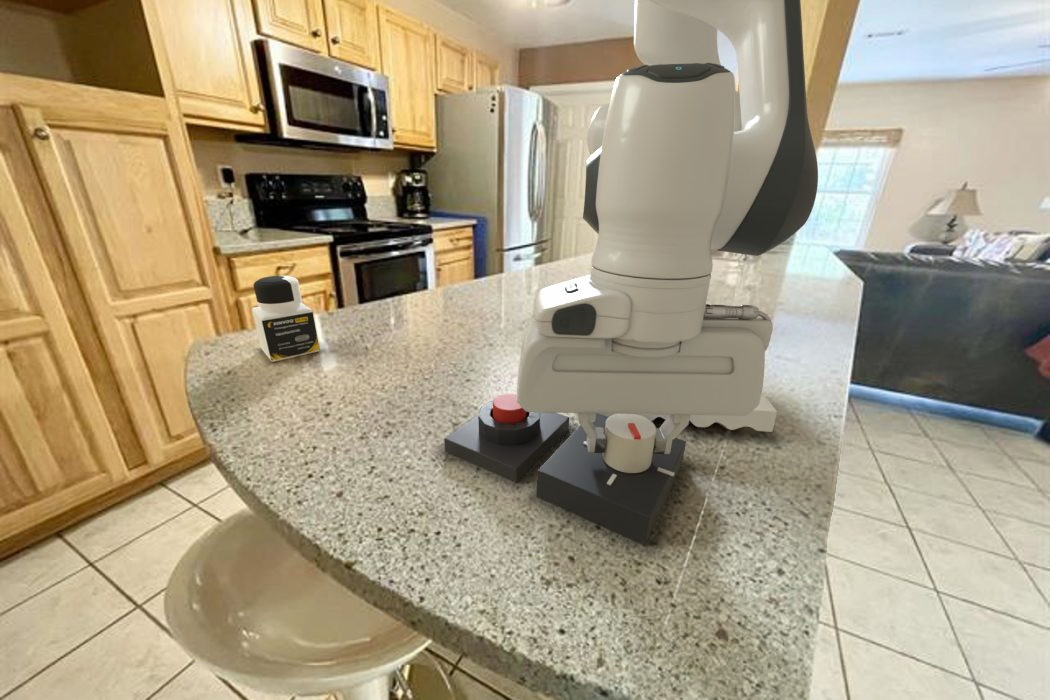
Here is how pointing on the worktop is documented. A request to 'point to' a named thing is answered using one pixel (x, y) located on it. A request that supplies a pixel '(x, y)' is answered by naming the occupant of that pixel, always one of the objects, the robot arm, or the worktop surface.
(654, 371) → the robot arm
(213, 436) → the worktop surface
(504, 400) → the power button
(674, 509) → the worktop surface
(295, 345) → the medicine bottle
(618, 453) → the dial
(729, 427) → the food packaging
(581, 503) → the control panel
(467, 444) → the box
